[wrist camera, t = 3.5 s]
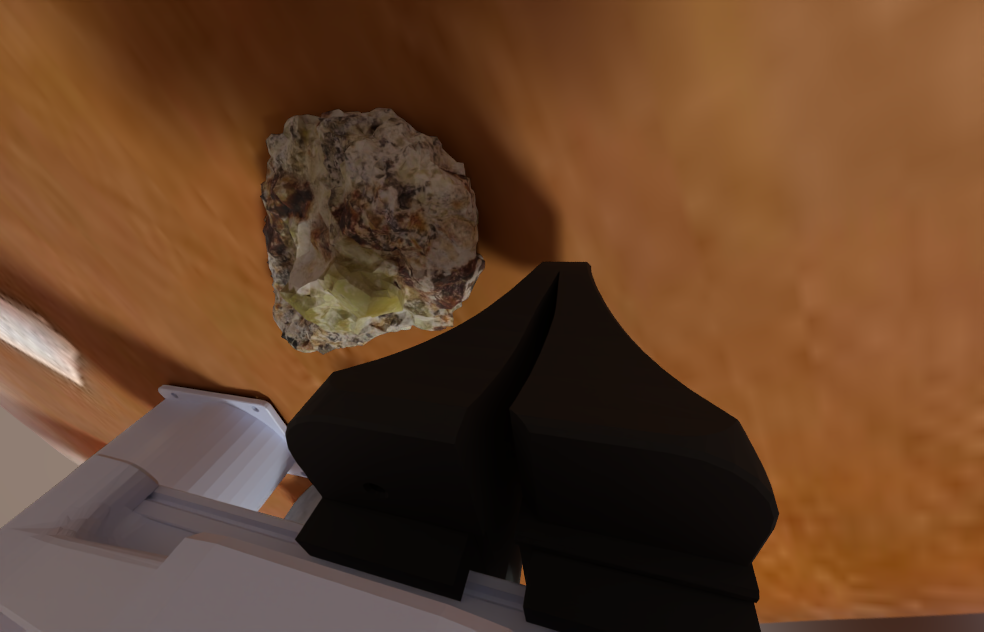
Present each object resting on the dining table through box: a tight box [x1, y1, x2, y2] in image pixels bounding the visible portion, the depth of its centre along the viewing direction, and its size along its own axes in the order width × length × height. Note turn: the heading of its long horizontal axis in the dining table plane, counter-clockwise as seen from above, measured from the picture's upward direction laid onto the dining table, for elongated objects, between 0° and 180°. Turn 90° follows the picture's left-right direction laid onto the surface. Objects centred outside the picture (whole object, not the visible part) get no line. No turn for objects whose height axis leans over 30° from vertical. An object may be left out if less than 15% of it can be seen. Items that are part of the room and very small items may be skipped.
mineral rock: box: [260, 108, 485, 354], centre depth 12 cm, size 11×4×8 cm
